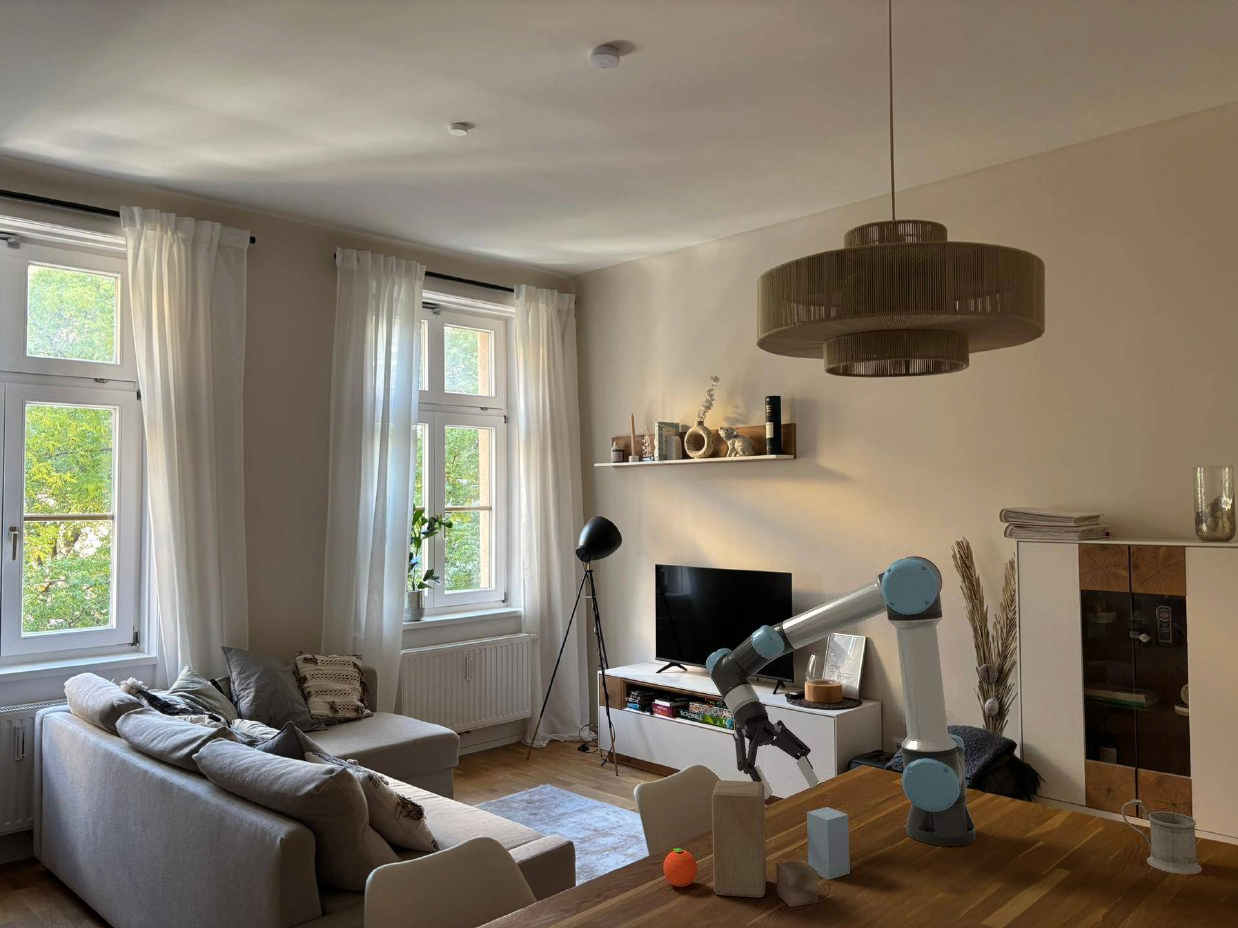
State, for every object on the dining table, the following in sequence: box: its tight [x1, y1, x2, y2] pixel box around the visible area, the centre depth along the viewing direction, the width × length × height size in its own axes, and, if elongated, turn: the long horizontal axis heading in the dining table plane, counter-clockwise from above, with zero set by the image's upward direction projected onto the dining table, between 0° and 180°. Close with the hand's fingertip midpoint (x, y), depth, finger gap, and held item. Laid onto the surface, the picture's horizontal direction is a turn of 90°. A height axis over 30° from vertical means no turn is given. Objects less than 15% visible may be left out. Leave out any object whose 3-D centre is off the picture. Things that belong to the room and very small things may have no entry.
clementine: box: [662, 847, 698, 888], centre depth 184 cm, size 8×7×7 cm
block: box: [711, 779, 767, 899], centre depth 182 cm, size 10×10×20 cm
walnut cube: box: [775, 859, 819, 907], centre depth 177 cm, size 6×6×6 cm
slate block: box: [806, 806, 851, 880], centre depth 190 cm, size 6×6×12 cm
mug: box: [1121, 799, 1203, 875], centre depth 192 cm, size 14×10×12 cm
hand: (792, 790), depth 199 cm, fingers open, 13 cm apart
